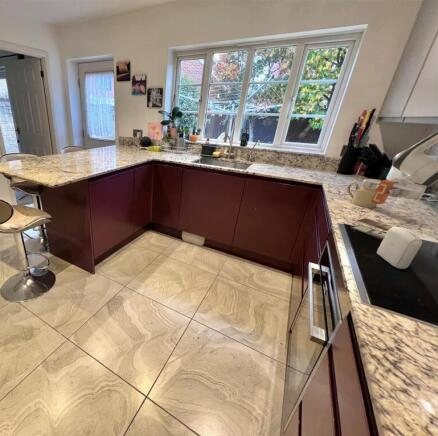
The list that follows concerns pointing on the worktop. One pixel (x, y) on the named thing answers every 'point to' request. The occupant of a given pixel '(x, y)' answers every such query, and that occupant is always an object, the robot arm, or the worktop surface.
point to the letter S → (382, 192)
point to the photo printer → (399, 247)
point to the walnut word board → (375, 224)
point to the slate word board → (370, 231)
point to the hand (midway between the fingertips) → (383, 190)
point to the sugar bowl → (362, 196)
